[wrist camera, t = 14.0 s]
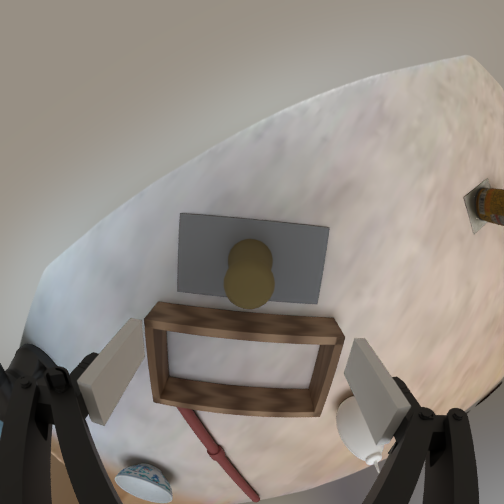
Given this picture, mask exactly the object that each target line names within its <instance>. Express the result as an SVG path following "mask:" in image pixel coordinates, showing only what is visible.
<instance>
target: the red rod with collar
mask: <svg viewBox="0 0 504 504" xmlns="http://www.w3.org/2000/svg"><path fill="white" fill-rule="evenodd" d="M177 408H178V410H179V411H180V413H181V414H182V416H183V417H184V419H185V420H186V421H187V423H188V424H189V426H190V427H191V428H192V430H193V431H194V433H195V434H196V435H197V437H198V438H199V439H200V441H201V442H202V443H203V445H204V446H205V447H206V448H207V453H208V454H209V455H210V457H211V458H212V459H213V460H215V461H217V462H218V463H219V464H220V466H221V467H222V468H223V469H224V470H225V472H226V473H227V474H228V475H229V476H230V477H231V478H232V480H233V481H234V482H235V483H236V484H237V485H238V486H239V487H240V488H241V489H242V490H243V491H244V493H245V494H246V495H247V496H248V497H249V498H250V499H251V500H252V501H253V502H258V501H259V500H260V497H259V496H258V495H257V494H256V493H255V492H254V491H253V489H252V488H251V487H250V486H249V485H248V484H247V483H246V481H245V480H244V479H243V478H242V477H241V475H240V474H239V473H238V472H237V471H236V469H235V468H234V467H233V466H232V464H231V463H230V462H229V460H228V459H227V458H226V457H225V452H224V451H223V449H222V448H221V447H220V446H219V445H216V443H215V442H214V440H213V439H212V438H211V436H210V435H209V433H208V432H207V431H206V429H205V428H204V426H203V425H202V423H201V422H200V420H199V419H198V417H197V416H196V414H195V413H194V411H193V410H192V409H186V408H180V407H177Z"/></svg>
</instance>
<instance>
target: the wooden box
mask: <svg viewBox="0 0 504 504" xmlns="http://www.w3.org/2000/svg"><path fill="white" fill-rule="evenodd" d="M144 325H145V337H146V348H147V358H148V366H149V374H150V382H151V389H152V395H153V402H155V403H160V404H164V405H170V406H175V407H180V408H186V409H193V410H199V411H207V412H214V413H223V414H233V415H245V416H261V417H320V415H321V413H322V410H323V407H324V404H325V401H326V398H327V396H328V393H329V390H330V387H331V384H332V381H333V377H334V374H335V371H336V368H337V364H338V361H339V358H340V354H341V351H342V347H343V344H344V340H345V336H344V334H343V332H342V331H341V329H340V327H339V326H338V324H337V322H336V321H335V319H334V318H326V317H306V316H290V315H275V314H263V313H251V312H240V311H230V310H220V309H211V308H203V307H194V306H186V305H179V304H171V303H164V302H157V304H156V305H155V306H154V307H153V308H152V310H151V311H150V312H149V313H148V315H147V316H146V317H145V318H144ZM166 331H172V332H179V333H186V334H193V335H201V336H209V337H218V338H227V339H237V340H248V341H260V342H274V343H292V344H319V345H320V347H319V351H318V355H317V359H316V363H315V367H314V371H313V375H312V378H311V382H310V386H309V389H282V388H261V387H246V386H235V385H225V384H216V383H208V382H200V381H193V380H187V379H181V378H175V377H169V367H168V352H167V333H166Z"/></svg>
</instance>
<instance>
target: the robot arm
mask: <svg viewBox="0 0 504 504" xmlns="http://www.w3.org/2000/svg"><path fill="white" fill-rule="evenodd" d="M144 357H145V352H144V343H143V332H142V320H138V319H132V318H130V319H129V320H128V322H127V323H126V324H125V325H124V326H123V327H122V328H121V329H120V331H119V332H118V333H117V334H116V335H115V336H114V337H113V339H112V340H111V341H110V342H109V343H108V344H107V345H106V347H105V348H104V349H103V350H102V351H101V352H100V354H97V353H94V352H93V353H91V354H89V355H87V356H86V357H85V358H84V359H83V360H82V361H81V363H79V365H78V367H76V368H75V369H74V370H73V371H72V372H71V374H70V375H69V373H68V371H67V369H65V368H64V367H60V366H56V365H55V364H54V362H53V361H52V360H51V359H50V358H49V357H48V356H47V355H46V354H45V353H44V352H43V351H42V350H40V349H39V348H37V347H36V346H34V345H31V344H25V345H23V346H22V347H20V348H19V349H18V350H17V352H16V354H15V357H14V359H13V360H12V362H11V364H10V366H9V368H8V369H7V370H6V371H4V369H3V367H2V365H1V363H0V504H52V500H51V479H50V456H51V436H52V424H53V425H55V428H56V433H57V437H58V441H59V445H60V449H61V452H62V456H63V459H64V463H65V466H66V469H67V472H68V475H69V478H70V481H71V483H72V486H73V489H74V492H75V494H76V497H77V499H78V502H79V504H123V503H122V501H121V500H120V498H119V496H118V494H117V492H116V490H115V488H114V486H113V484H112V482H111V480H110V478H109V476H108V474H107V472H106V470H105V468H104V466H103V463H102V461H101V459H100V456H99V454H98V452H97V449H96V447H95V444H94V441H93V439H92V436H91V433H90V431H89V428H88V425H87V422H86V420H85V419H86V417H87V415H88V414H89V417H90V419H91V421H92V422H94V423H97V424H100V425H103V426H105V424H106V423H107V421H108V419H109V417H110V416H111V414H112V412H113V410H114V408H115V407H116V405H117V403H118V402H119V400H120V398H121V396H122V395H123V393H124V391H125V389H126V388H127V386H128V384H129V383H130V381H131V379H132V378H133V376H134V374H135V372H136V371H137V369H138V367H139V366H140V364H141V362H142V361H143V359H144ZM344 375H345V377H346V379H347V381H348V383H349V386H350V388H351V390H352V392H353V394H354V397H355V399H356V401H357V403H358V406H359V408H360V410H361V412H362V414H363V417H364V419H365V421H366V424H367V426H368V428H369V430H370V433H371V435H372V437H373V440H374V442H375V444H376V446H377V445H383V444H388V443H389V442H390V441H391V439H392V438H393V436H394V437H395V439H396V442H395V443H394V445H393V446H392V448H391V449H390V451H389V452H388V454H389V456H388V458H387V460H386V462H385V464H384V466H383V468H382V470H381V472H380V473H379V475H378V477H377V479H376V481H375V483H374V484H373V486H372V488H371V490H370V491H369V493H368V495H367V496H366V498H365V500H364V501H363V503H362V504H408V503H409V501H410V498H411V496H412V494H413V491H414V489H415V486H416V484H417V481H418V478H419V475H420V473H421V470H422V467H423V464H424V461H425V460H426V461H425V462H426V463H425V483H424V495H423V504H479V491H478V477H477V467H476V460H475V452H474V446H473V440H472V434H471V429H470V424H469V420H468V416H467V414H466V413H465V412H464V411H463V410H462V409H459V408H452V409H450V410H449V412H448V413H447V415H435V413H434V412H433V411H432V410H431V409H429V408H425V407H421V406H420V405H419V403H418V402H417V400H416V399H415V397H414V396H413V394H412V393H410V390H409V389H408V388H407V386H406V384H405V383H404V382H403V381H402V380H401V379H399V378H398V377H391V375H390V374H389V372H388V371H387V369H386V368H385V366H384V365H383V363H382V362H381V360H380V359H379V358H378V356H377V355H376V353H375V352H374V350H373V349H372V348H371V346H370V345H369V343H368V342H367V340H366V339H365V338H354V342H353V345H352V348H351V352H350V355H349V358H348V362H347V365H346V368H345V371H344ZM425 458H426V459H425Z"/></svg>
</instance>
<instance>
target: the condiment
mask: <svg viewBox="0 0 504 504" xmlns="http://www.w3.org/2000/svg"><path fill="white" fill-rule="evenodd" d="M474 196H475V197H474ZM464 199H465V204H466V207H467V211H468V214H469V218H470V222H471V225H472V229H473V233H474V234H475V233H476V232H478V231H479V230H480V229H481V228H482V227H483V226H484V225H485V224H486V223H487V222H491V223H495V224H498V225H502V226H504V190H503V189H493V188H490V184H489V181H488V178H487V179H486V180H485V181H483V182H482V183H481V184H480V185H479V186H477V187H476V188H475V189H474V190H472V191H471V192H470V193H469V194H468V195H466V196H465V197H464ZM476 218H477V219H476Z"/></svg>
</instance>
